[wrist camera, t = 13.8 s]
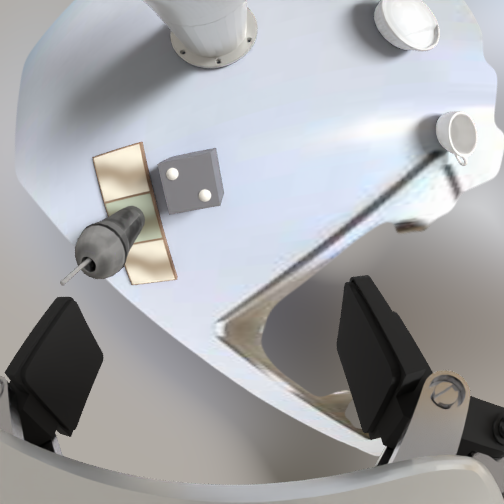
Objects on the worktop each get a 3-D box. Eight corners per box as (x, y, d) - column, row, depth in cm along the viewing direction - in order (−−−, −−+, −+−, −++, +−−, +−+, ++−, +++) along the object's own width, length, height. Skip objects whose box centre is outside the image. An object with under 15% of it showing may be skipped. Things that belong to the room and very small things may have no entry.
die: (170, 157, 40) (157, 164, 33) (215, 147, 39) (210, 153, 33) (180, 200, 43) (169, 214, 36) (224, 192, 42) (220, 206, 36)
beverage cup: (153, 241, 45) (104, 318, 27) (114, 237, 44) (53, 306, 26) (153, 199, 41) (93, 259, 24) (112, 196, 41) (39, 250, 23)
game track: (94, 156, 39) (91, 157, 38) (142, 141, 38) (140, 142, 37) (133, 282, 49) (131, 285, 48) (177, 277, 49) (176, 280, 48)
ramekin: (414, 67, 33) (431, 63, 28) (359, 30, 31) (372, 21, 26) (429, 25, 28) (445, 19, 24) (378, -11, 26) (391, -22, 22)
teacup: (424, 115, 37) (443, 117, 32) (452, 106, 35) (471, 107, 30) (438, 168, 41) (456, 174, 36) (465, 156, 39) (483, 162, 34)
